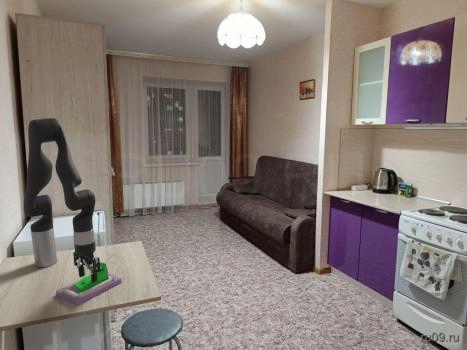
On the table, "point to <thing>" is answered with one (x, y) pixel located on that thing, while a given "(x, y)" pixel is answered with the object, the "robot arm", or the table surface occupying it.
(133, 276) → the table surface
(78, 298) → the door panel
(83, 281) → the mechanical part
